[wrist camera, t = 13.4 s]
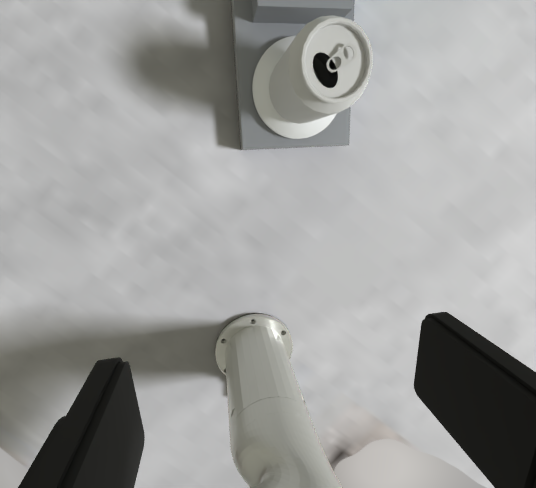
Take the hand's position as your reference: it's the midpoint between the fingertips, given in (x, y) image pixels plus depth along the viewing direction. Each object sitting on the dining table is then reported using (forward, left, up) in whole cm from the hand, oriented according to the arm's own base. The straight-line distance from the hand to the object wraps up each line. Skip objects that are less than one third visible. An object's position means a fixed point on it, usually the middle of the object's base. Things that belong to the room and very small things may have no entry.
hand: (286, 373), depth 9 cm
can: (+13, -9, -31) cm, 34 cm away
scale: (+16, -9, -34) cm, 39 cm away
